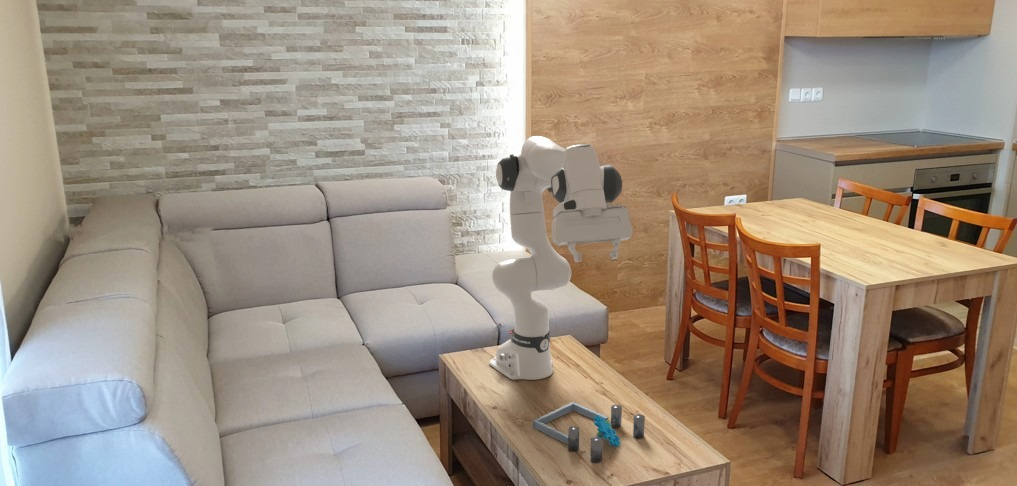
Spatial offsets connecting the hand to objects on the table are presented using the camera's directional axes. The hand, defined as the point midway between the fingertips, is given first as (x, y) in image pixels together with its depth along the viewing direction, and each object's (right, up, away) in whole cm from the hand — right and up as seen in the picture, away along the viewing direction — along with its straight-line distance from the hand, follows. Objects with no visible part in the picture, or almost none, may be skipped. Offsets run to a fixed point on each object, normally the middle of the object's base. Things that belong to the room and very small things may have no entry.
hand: (596, 259), depth 192 cm
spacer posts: (+5, -50, +21) cm, 55 cm away
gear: (+5, -51, +22) cm, 55 cm away
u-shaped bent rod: (-4, -48, +31) cm, 57 cm away
